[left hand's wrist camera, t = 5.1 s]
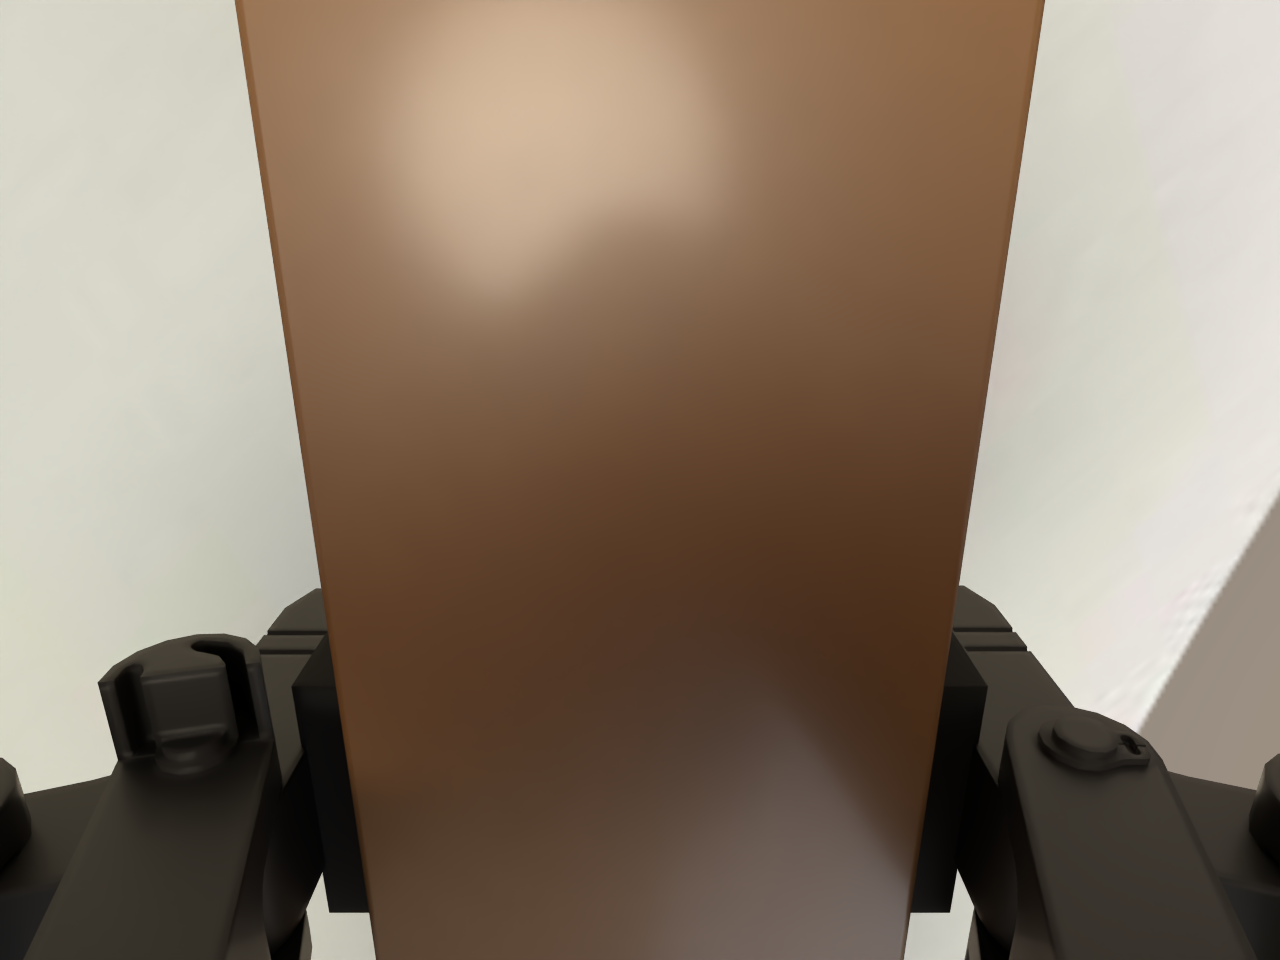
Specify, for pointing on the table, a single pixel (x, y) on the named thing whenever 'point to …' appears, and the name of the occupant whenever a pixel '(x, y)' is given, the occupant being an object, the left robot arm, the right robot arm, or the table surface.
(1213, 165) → the table surface
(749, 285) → the bar
